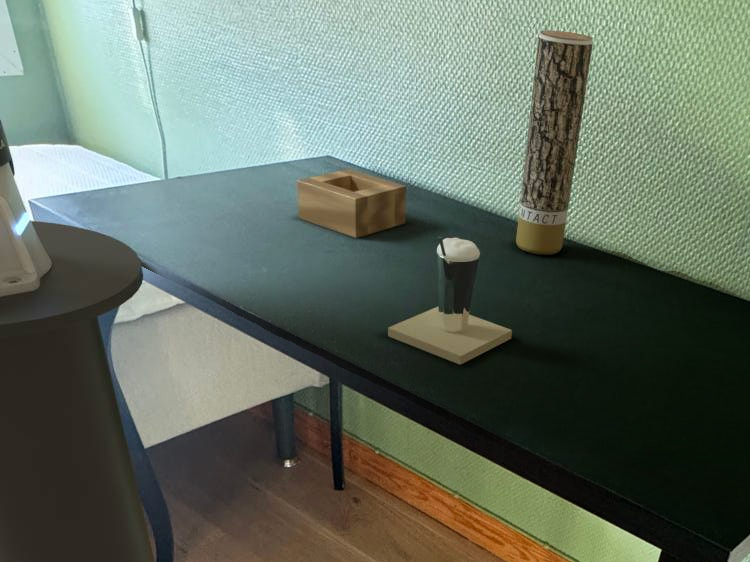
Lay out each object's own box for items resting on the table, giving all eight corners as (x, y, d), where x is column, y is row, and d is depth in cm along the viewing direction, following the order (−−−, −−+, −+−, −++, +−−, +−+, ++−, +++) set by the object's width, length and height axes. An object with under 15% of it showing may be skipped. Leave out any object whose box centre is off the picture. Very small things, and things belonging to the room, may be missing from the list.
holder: (356, 238, 112) (355, 199, 109) (298, 218, 116) (296, 180, 113) (405, 223, 119) (406, 186, 116) (349, 205, 123) (349, 168, 120)
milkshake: (419, 327, 89) (423, 231, 82) (451, 316, 92) (457, 222, 85) (450, 341, 87) (456, 243, 80) (481, 328, 90) (490, 233, 83)
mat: (460, 365, 85) (460, 355, 84) (387, 336, 89) (387, 327, 88) (511, 338, 92) (512, 330, 91) (441, 312, 95) (442, 304, 94)
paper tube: (526, 237, 119) (551, 29, 102) (568, 248, 117) (601, 37, 100) (507, 249, 115) (530, 32, 98) (551, 260, 113) (582, 41, 96)
